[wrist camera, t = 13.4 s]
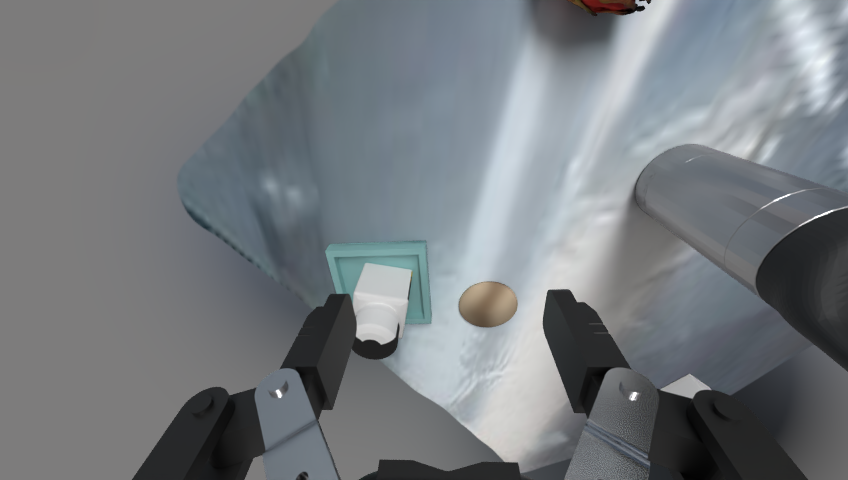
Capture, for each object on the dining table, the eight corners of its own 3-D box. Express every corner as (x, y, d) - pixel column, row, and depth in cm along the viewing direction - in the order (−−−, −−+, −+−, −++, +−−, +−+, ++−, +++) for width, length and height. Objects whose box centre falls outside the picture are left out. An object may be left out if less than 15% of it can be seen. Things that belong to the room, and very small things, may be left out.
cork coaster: (519, 280, 46) (519, 282, 46) (514, 324, 51) (515, 326, 50) (458, 282, 47) (458, 284, 47) (459, 325, 52) (459, 327, 51)
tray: (425, 240, 44) (425, 248, 42) (431, 314, 51) (431, 323, 49) (329, 244, 45) (325, 251, 43) (348, 315, 52) (344, 324, 50)
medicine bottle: (407, 305, 49) (397, 370, 39) (362, 298, 49) (340, 362, 39) (413, 268, 46) (404, 330, 35) (365, 261, 45) (342, 320, 35)
